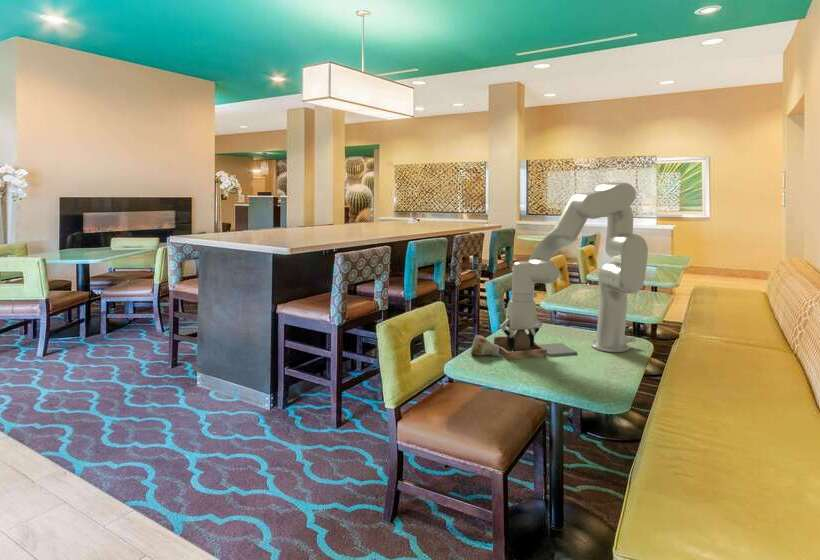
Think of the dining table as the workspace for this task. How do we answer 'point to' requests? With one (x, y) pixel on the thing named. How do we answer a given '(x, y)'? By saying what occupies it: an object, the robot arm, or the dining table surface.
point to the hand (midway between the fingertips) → (520, 346)
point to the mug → (483, 347)
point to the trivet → (558, 349)
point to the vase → (521, 341)
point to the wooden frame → (503, 347)
